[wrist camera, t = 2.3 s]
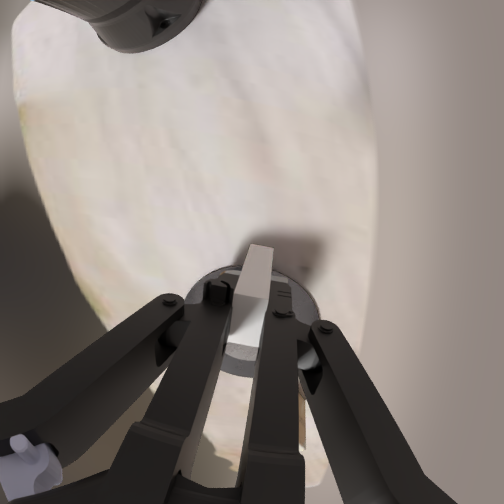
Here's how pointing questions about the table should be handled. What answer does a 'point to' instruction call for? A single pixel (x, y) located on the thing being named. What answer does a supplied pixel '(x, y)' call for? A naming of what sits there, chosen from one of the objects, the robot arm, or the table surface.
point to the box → (302, 424)
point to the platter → (243, 356)
